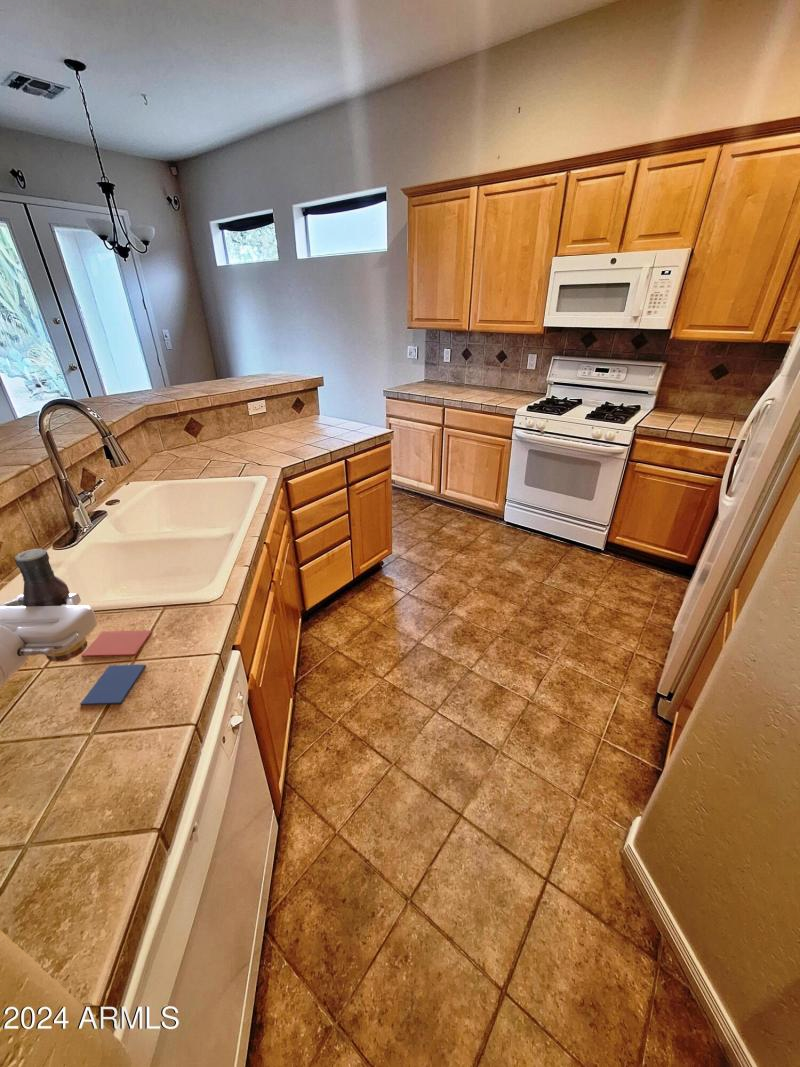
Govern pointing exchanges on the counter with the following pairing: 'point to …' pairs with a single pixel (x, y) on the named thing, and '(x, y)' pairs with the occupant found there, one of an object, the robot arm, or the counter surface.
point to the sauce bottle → (44, 591)
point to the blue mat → (113, 685)
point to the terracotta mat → (117, 643)
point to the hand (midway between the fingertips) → (51, 597)
